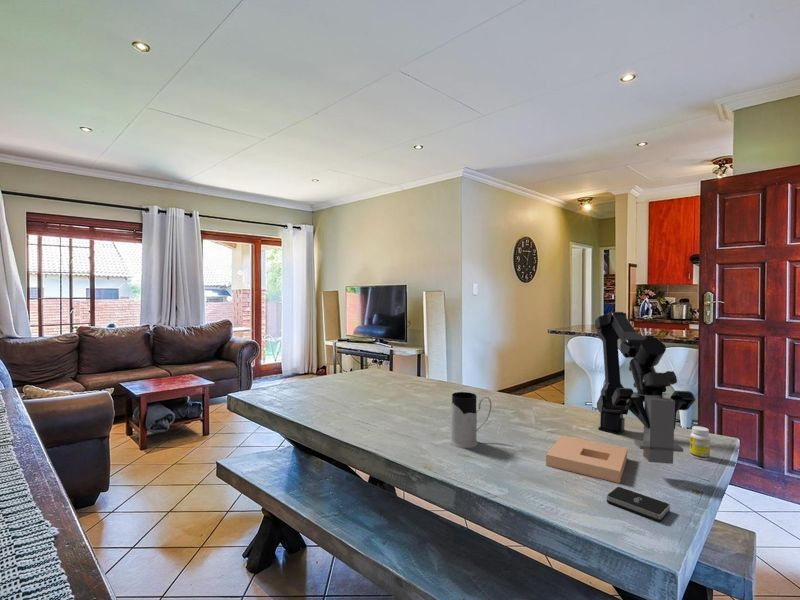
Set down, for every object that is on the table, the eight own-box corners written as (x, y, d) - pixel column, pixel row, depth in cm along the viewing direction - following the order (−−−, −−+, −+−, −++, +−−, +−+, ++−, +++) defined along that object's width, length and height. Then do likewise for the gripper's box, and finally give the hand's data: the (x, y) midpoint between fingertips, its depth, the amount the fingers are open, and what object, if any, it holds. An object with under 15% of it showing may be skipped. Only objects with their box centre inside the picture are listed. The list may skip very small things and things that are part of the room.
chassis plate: (561, 444, 129) (561, 435, 129) (627, 458, 119) (627, 448, 119) (545, 465, 114) (546, 454, 114) (619, 483, 104) (620, 471, 104)
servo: (639, 461, 106) (641, 394, 106) (633, 455, 110) (635, 390, 110) (682, 464, 105) (685, 396, 104) (675, 458, 109) (677, 392, 108)
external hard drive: (617, 494, 99) (617, 486, 99) (671, 513, 91) (671, 504, 91) (605, 504, 95) (605, 495, 95) (660, 525, 86) (661, 515, 86)
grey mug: (444, 439, 133) (445, 392, 132) (483, 434, 138) (483, 389, 137) (458, 449, 124) (458, 399, 124) (498, 443, 130) (499, 395, 129)
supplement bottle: (690, 452, 124) (691, 424, 124) (710, 456, 121) (711, 427, 121) (688, 457, 120) (689, 428, 120) (709, 461, 117) (710, 432, 117)
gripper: (616, 358, 112) (630, 410, 102) (693, 360, 109) (715, 415, 98) (606, 380, 120) (618, 431, 110) (677, 383, 117) (696, 436, 106)
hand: (661, 428), depth 106 cm, fingers closed on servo, 5 cm apart
